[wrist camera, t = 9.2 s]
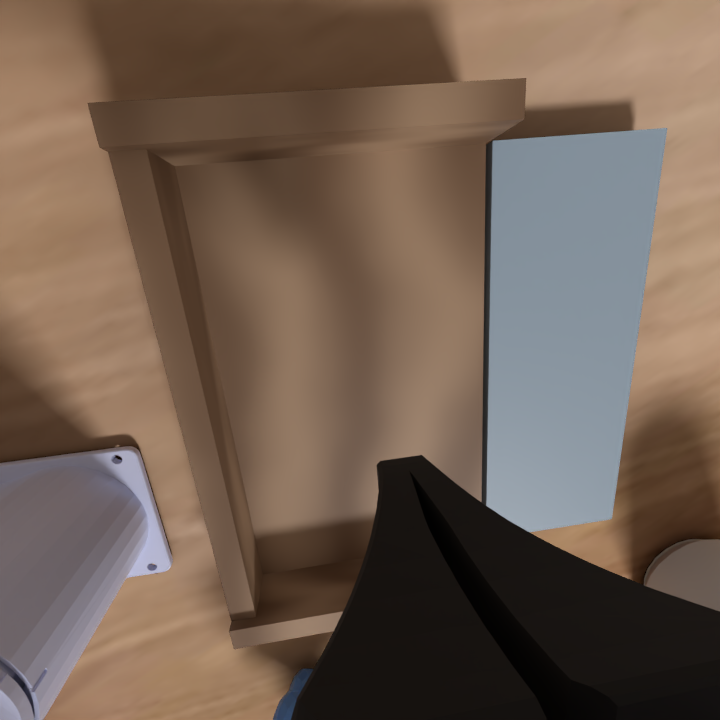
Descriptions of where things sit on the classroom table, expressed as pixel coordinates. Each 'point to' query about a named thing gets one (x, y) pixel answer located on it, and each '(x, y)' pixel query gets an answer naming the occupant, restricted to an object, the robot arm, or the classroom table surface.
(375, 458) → the tray
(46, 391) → the classroom table surface
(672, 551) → the can
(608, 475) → the panel
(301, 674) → the grapes
